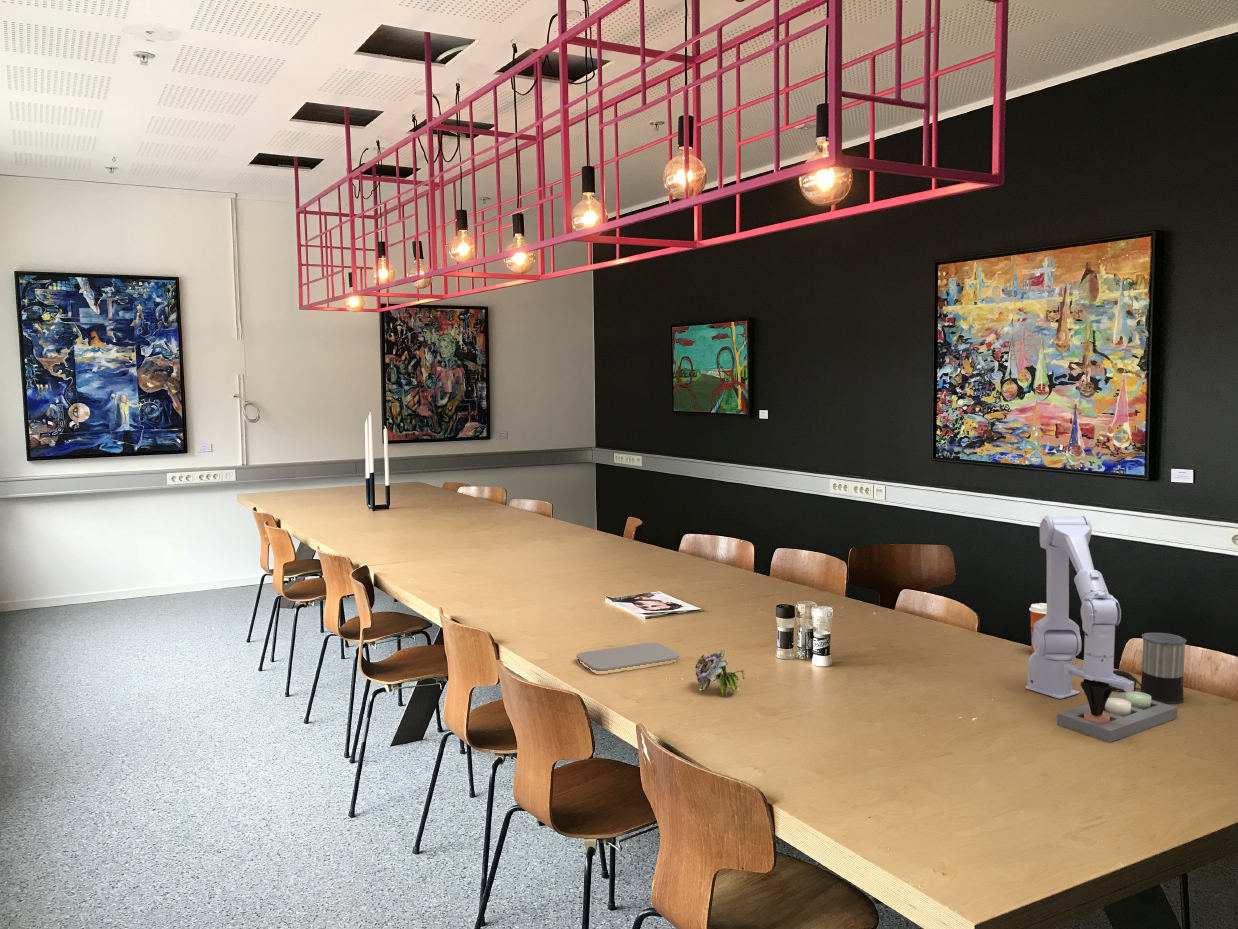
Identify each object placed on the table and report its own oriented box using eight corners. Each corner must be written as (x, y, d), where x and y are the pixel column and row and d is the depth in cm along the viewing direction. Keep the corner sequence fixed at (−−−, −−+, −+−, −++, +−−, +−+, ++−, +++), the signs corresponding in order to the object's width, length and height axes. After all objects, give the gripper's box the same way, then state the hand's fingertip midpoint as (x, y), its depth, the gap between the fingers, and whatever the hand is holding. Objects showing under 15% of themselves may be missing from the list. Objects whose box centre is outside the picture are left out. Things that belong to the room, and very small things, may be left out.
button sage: (1120, 705, 205) (1121, 694, 205) (1133, 701, 208) (1133, 690, 207) (1142, 712, 201) (1143, 700, 201) (1155, 708, 203) (1155, 696, 203)
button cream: (1100, 712, 201) (1100, 700, 201) (1113, 708, 204) (1113, 696, 203) (1122, 719, 197) (1122, 707, 196) (1135, 715, 199) (1135, 702, 199)
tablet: (683, 664, 246) (683, 656, 246) (596, 678, 235) (596, 670, 235) (655, 649, 261) (655, 641, 261) (572, 661, 250) (572, 653, 250)
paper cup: (1021, 653, 252) (1023, 604, 251) (1042, 650, 254) (1044, 601, 253) (1043, 661, 244) (1045, 610, 243) (1065, 657, 247) (1066, 607, 246)
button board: (1056, 724, 199) (1057, 713, 199) (1124, 702, 212) (1124, 692, 212) (1110, 742, 188) (1110, 731, 188) (1177, 718, 202) (1177, 707, 202)
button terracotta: (1078, 726, 197) (1079, 714, 197) (1092, 722, 200) (1092, 710, 199) (1100, 734, 193) (1101, 721, 193) (1114, 729, 195) (1114, 716, 195)
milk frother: (1190, 706, 209) (1193, 643, 208) (1117, 702, 213) (1119, 640, 211) (1167, 686, 223) (1169, 627, 222) (1098, 682, 227) (1100, 625, 225)
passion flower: (702, 711, 224) (683, 667, 229) (740, 697, 228) (720, 654, 233) (715, 699, 215) (695, 653, 220) (754, 685, 219) (734, 639, 224)
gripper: (1056, 648, 199) (1054, 708, 200) (1121, 665, 187) (1119, 728, 188) (1075, 643, 203) (1073, 702, 204) (1140, 659, 190) (1138, 722, 191)
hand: (1096, 714), depth 196 cm, fingers closed
